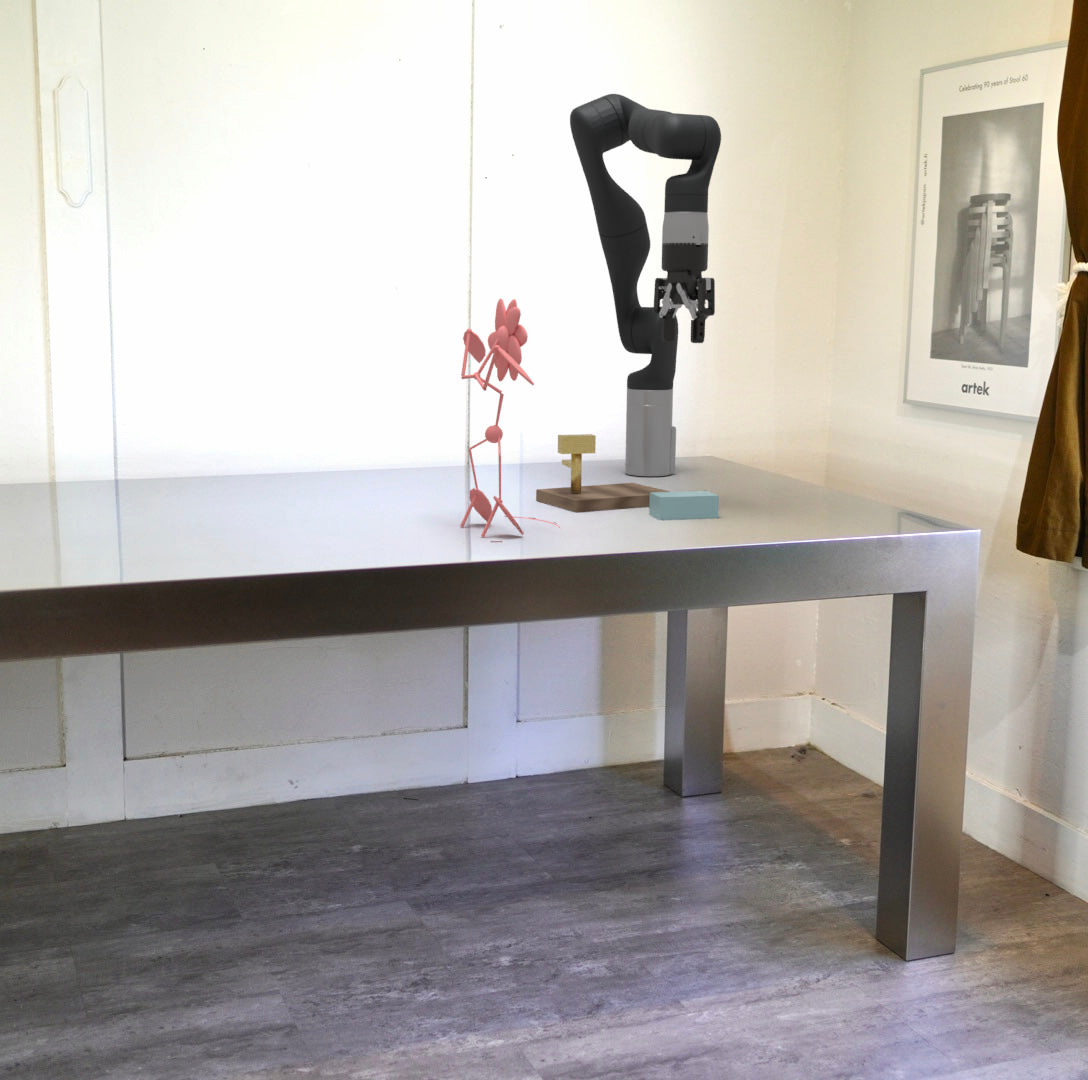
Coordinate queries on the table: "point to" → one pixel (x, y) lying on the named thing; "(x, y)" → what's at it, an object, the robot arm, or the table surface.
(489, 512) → the pink stick flower
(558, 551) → the table surface
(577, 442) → the t key
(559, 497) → the base
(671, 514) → the cover
